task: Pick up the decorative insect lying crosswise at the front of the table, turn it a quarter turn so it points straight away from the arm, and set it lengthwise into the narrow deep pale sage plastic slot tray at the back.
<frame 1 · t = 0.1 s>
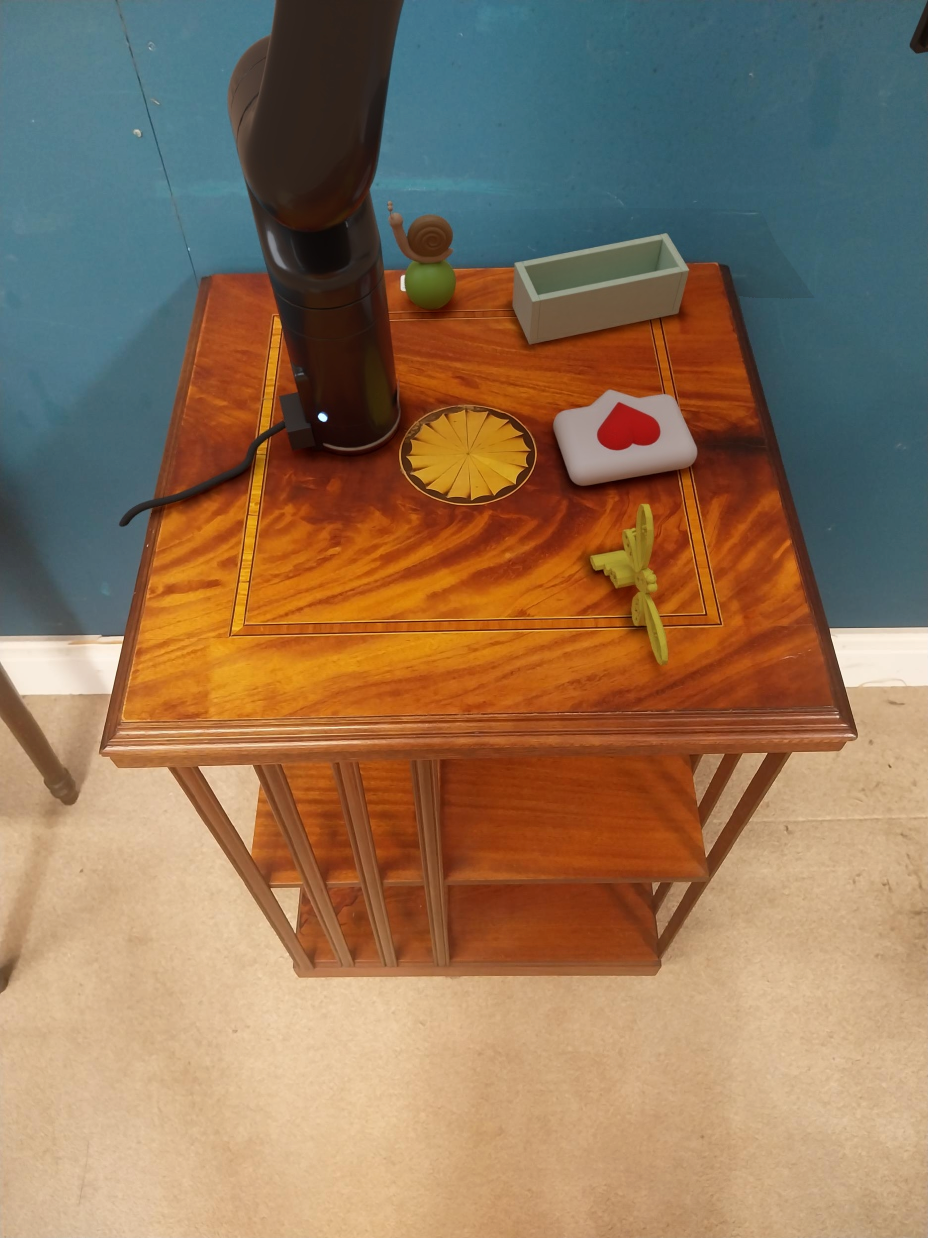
hand: (893, 19, 63), 29 cm above the table, tool pointing down, fingers open, 8 cm apart
snail figurine: (426, 304, 92), on the table
slot tray: (594, 309, 91), on the table
icon: (619, 444, 82), on the table
decorative insect: (627, 615, 72), on the table
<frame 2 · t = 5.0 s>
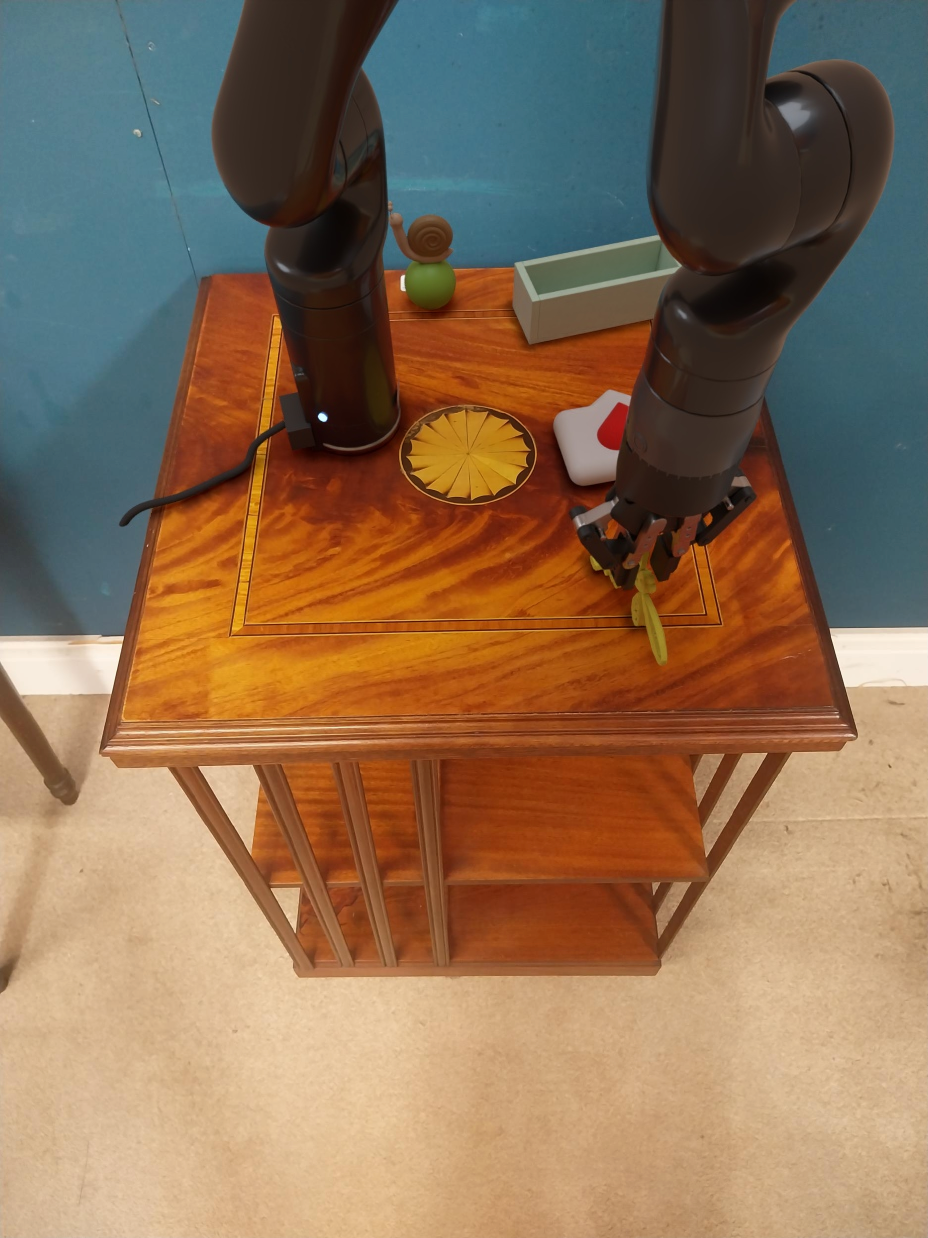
hand: (640, 576, 67), 6 cm above the table, tool pointing down, fingers closed
decorative insect: (627, 615, 72), on the table, touching gripper
everything else where it was.
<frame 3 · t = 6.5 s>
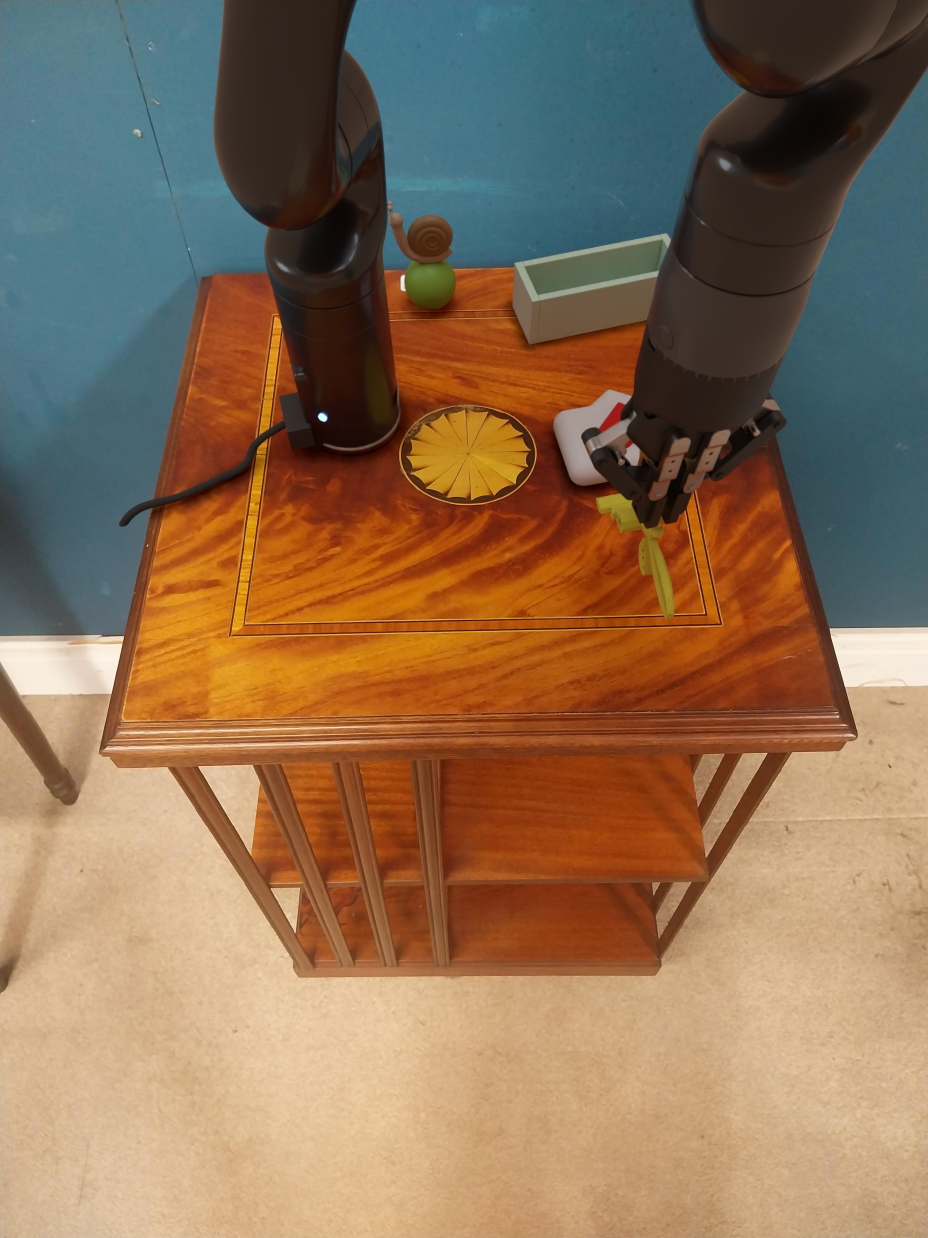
hand: (655, 515, 60), 14 cm above the table, tool pointing down, fingers closed on decorative insect
decorative insect: (634, 563, 65), point 8 cm above the table, touching gripper
everything else where it was.
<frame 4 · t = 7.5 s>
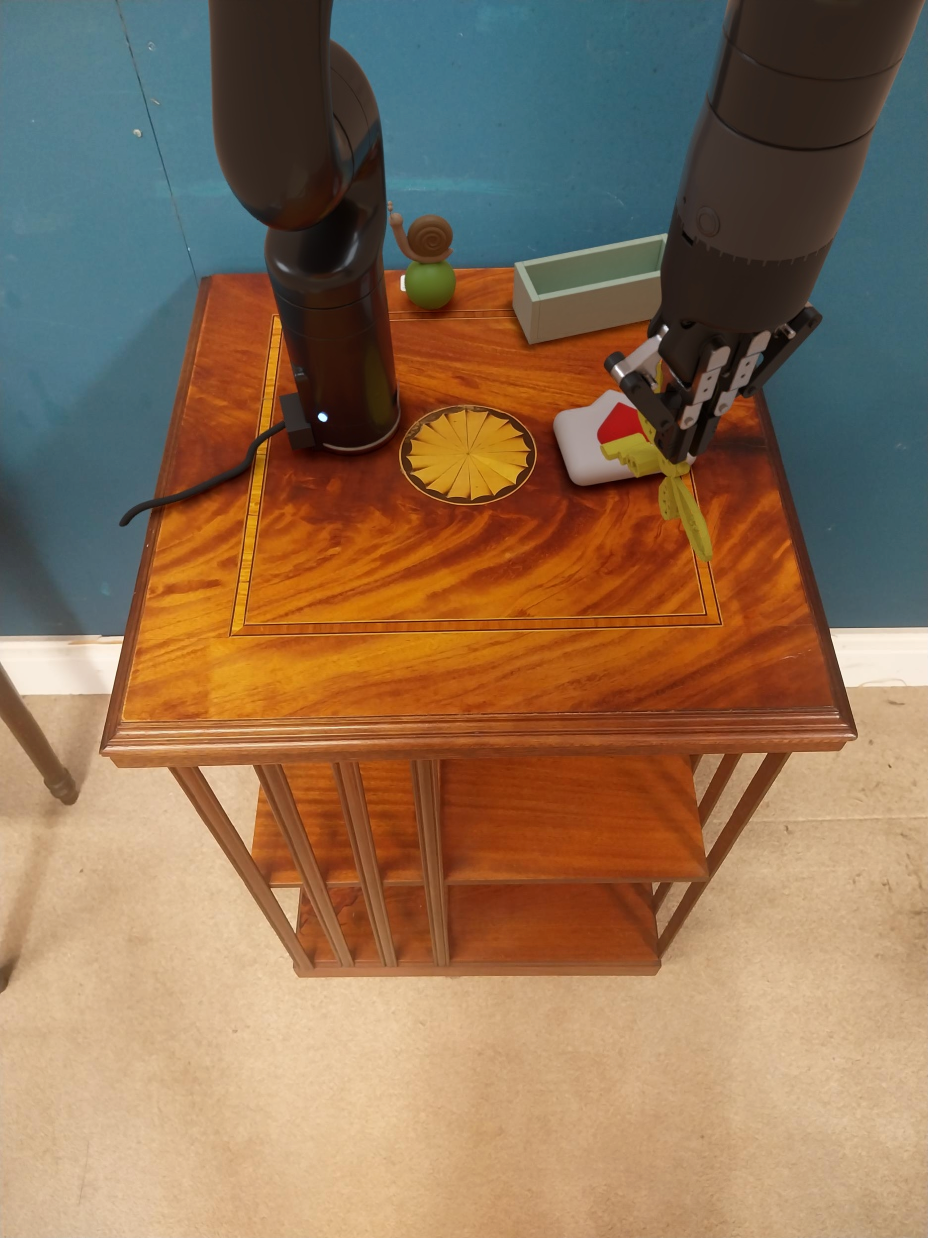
hand: (679, 449, 54), 21 cm above the table, tool pointing down, fingers closed on decorative insect
decorative insect: (654, 509, 60), point 15 cm above the table, touching gripper
everything else where it was.
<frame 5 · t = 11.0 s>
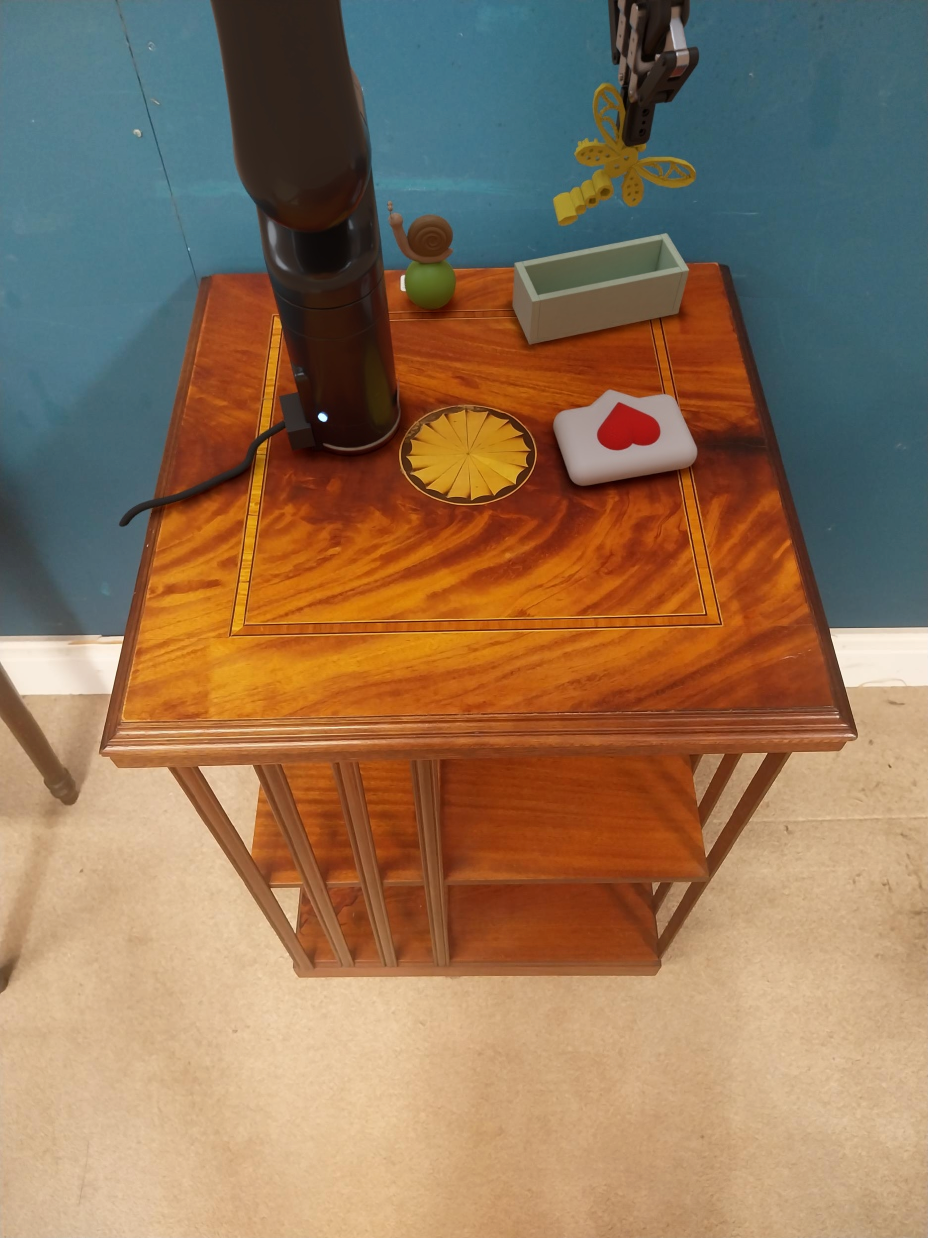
hand: (631, 137, 70), 21 cm above the table, tool pointing down, fingers closed on decorative insect
decorative insect: (622, 210, 75), point 15 cm above the table, touching gripper
everything else where it was.
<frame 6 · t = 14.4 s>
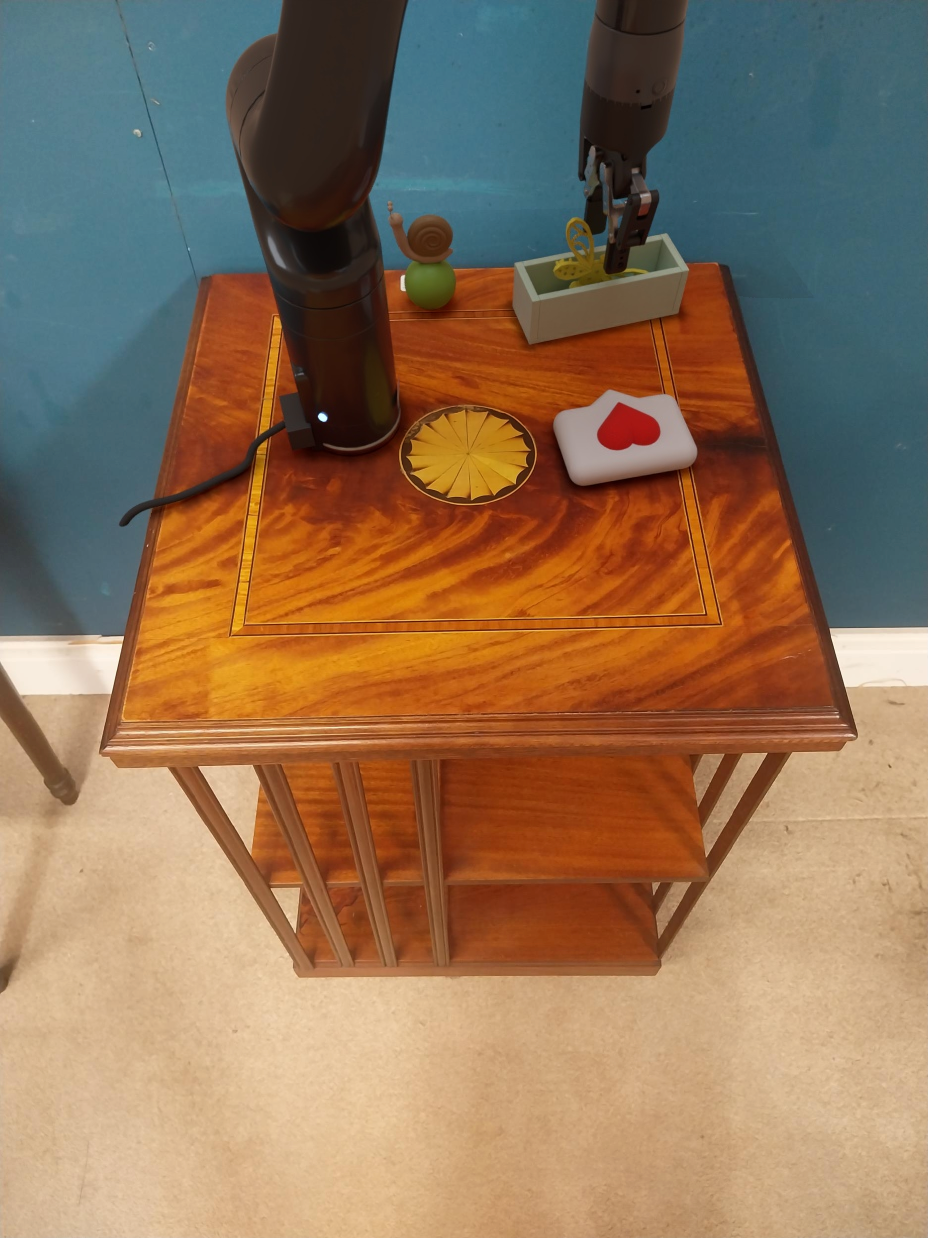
hand: (603, 250, 84), 7 cm above the table, tool pointing down, fingers open, 5 cm apart
decorative insect: (596, 312, 90), resting on slot tray
everything else where it was.
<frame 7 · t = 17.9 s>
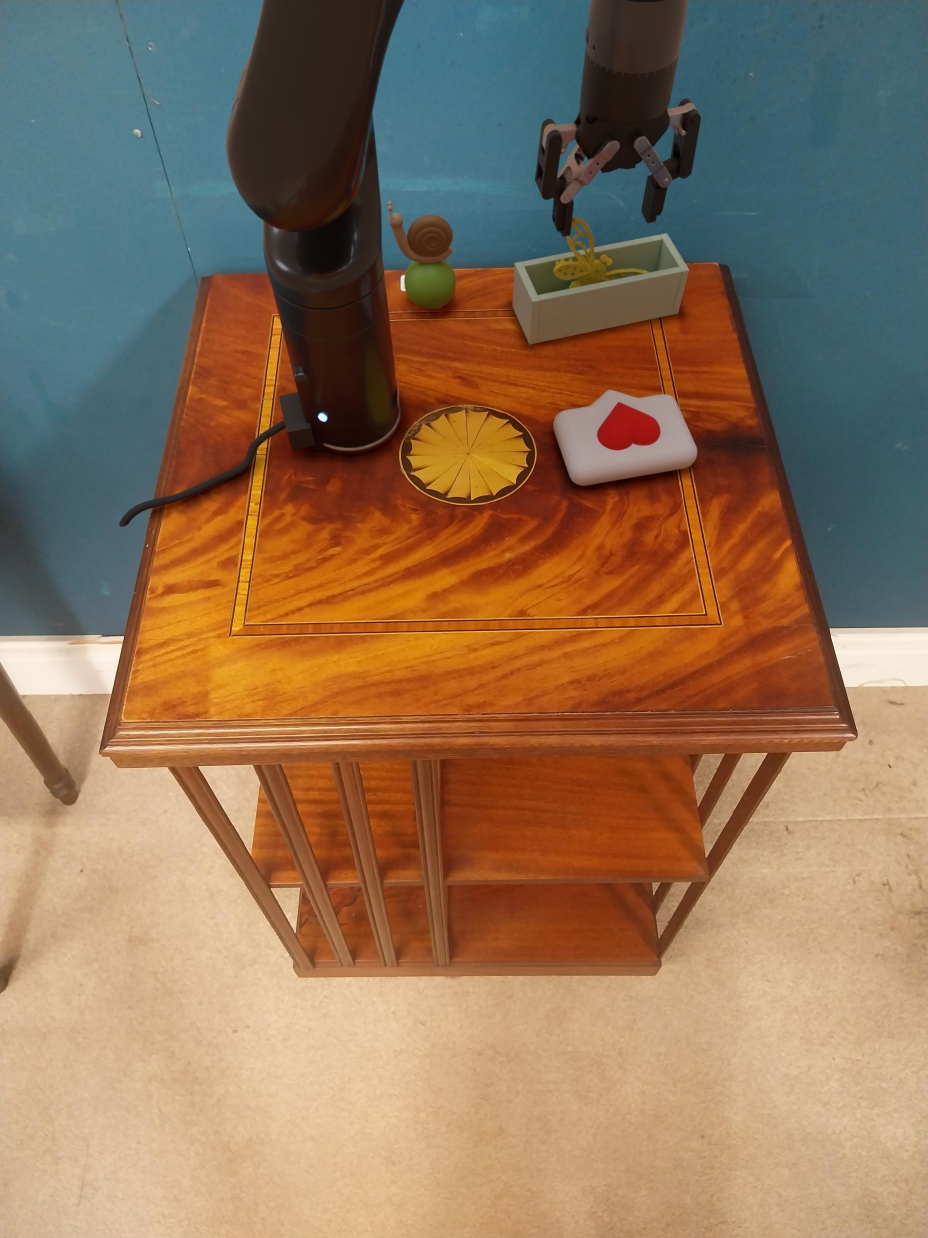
hand: (606, 224, 82), 10 cm above the table, tool pointing down, fingers open, 8 cm apart
decorative insect: (596, 312, 90), resting on slot tray, touching gripper
everything else where it was.
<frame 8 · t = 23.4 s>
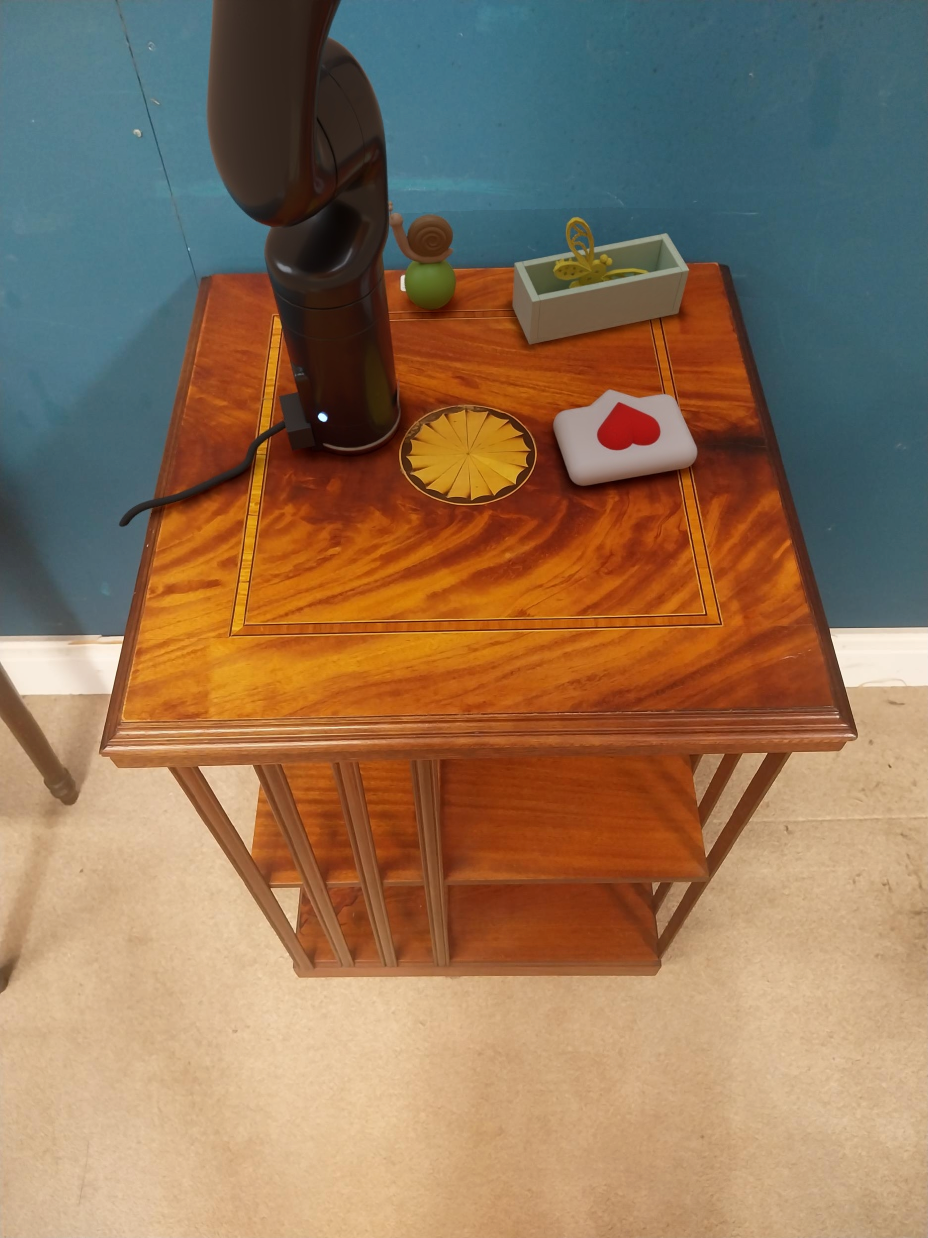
decorative insect: (596, 312, 90), resting on slot tray
everything else where it was.
at the end: decorative insect 0.7 cm off-centre in the slot tray, point 0.3 cm above the slot tray's base; the gripper is holding nothing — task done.
